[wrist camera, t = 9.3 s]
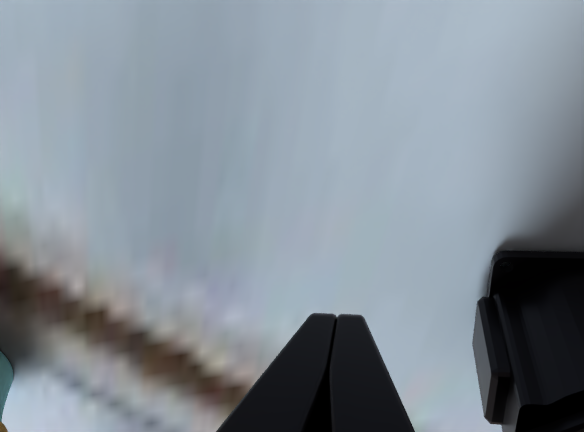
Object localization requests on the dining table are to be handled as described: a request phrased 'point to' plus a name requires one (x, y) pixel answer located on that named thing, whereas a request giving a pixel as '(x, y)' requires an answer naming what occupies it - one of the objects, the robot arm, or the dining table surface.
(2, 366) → the cupcake
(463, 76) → the dining table surface
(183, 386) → the dining table surface
